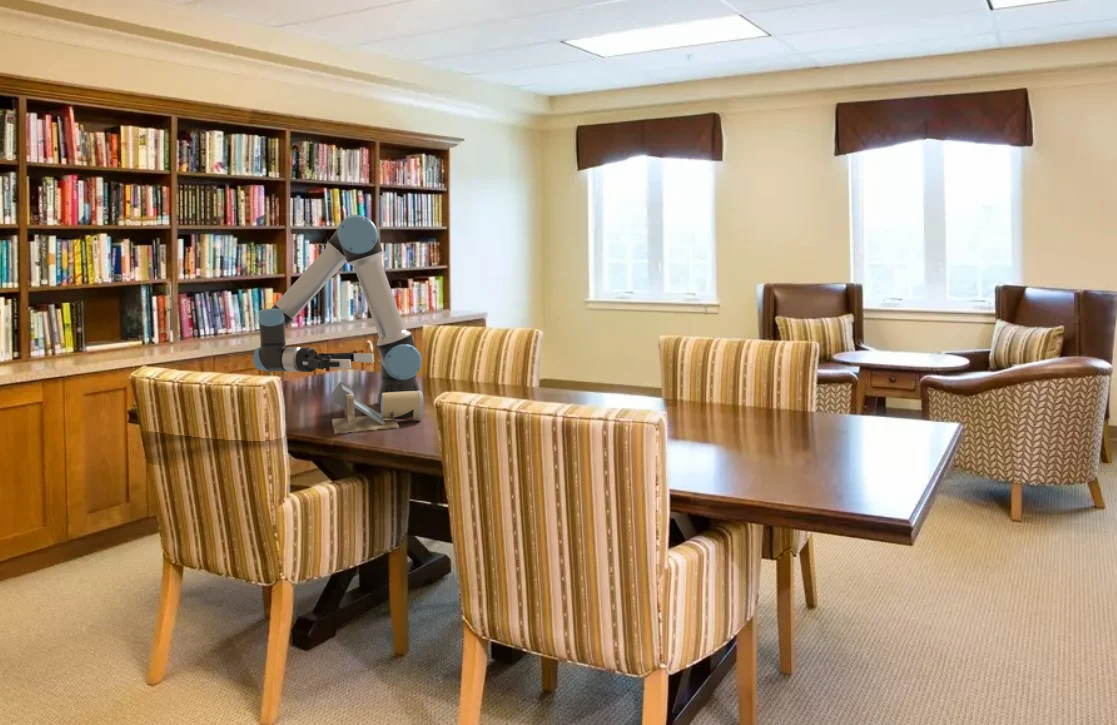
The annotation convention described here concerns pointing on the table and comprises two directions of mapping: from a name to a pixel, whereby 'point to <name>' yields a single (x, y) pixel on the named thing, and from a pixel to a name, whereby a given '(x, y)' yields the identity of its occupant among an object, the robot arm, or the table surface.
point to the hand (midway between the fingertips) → (362, 360)
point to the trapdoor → (340, 398)
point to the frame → (358, 420)
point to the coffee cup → (402, 405)
